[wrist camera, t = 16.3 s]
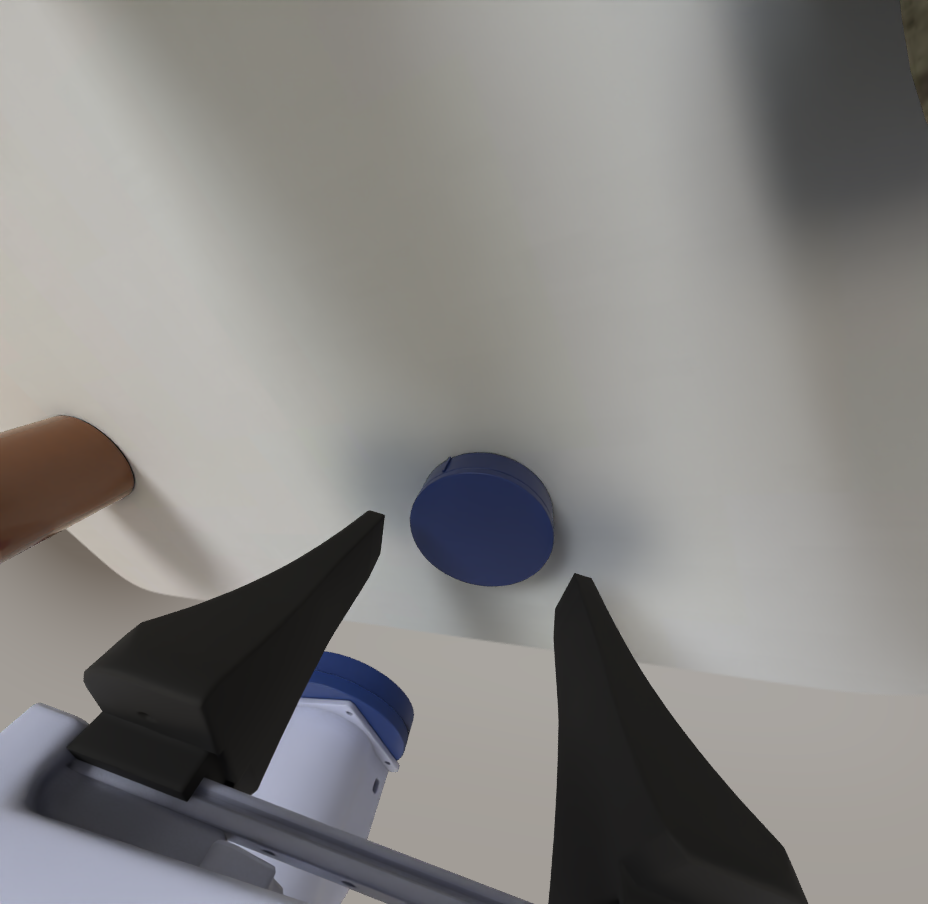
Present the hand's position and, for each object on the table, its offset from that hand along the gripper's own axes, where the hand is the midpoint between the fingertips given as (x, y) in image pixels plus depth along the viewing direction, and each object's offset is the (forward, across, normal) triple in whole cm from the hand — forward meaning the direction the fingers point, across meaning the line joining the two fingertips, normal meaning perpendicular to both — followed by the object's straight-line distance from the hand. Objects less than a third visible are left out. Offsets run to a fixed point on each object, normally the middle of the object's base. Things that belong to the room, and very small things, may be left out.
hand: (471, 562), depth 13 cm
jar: (+3, +22, +4) cm, 22 cm away
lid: (+2, 0, 0) cm, 2 cm away
